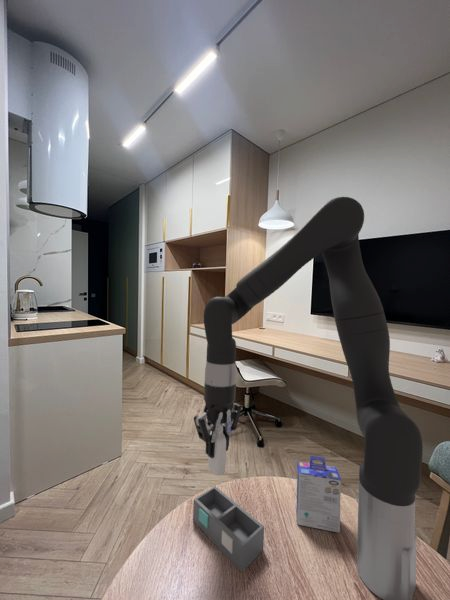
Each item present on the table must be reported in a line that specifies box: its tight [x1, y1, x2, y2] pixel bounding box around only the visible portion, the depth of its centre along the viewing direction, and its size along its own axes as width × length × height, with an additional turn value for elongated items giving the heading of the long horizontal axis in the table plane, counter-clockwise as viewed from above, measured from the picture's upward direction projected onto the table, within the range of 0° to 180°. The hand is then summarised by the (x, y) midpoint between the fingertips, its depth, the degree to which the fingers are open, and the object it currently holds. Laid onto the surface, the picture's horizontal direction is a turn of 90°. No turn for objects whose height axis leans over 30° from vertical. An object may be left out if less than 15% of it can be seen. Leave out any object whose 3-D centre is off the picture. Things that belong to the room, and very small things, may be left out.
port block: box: [192, 485, 265, 573], centre depth 57 cm, size 16×7×5 cm, turn 44°
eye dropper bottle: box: [207, 423, 227, 476], centre depth 60 cm, size 4×6×12 cm
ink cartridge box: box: [295, 455, 342, 534], centre depth 62 cm, size 10×6×14 cm, turn 78°
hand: (217, 452), depth 60 cm, fingers closed on eye dropper bottle, 3 cm apart
